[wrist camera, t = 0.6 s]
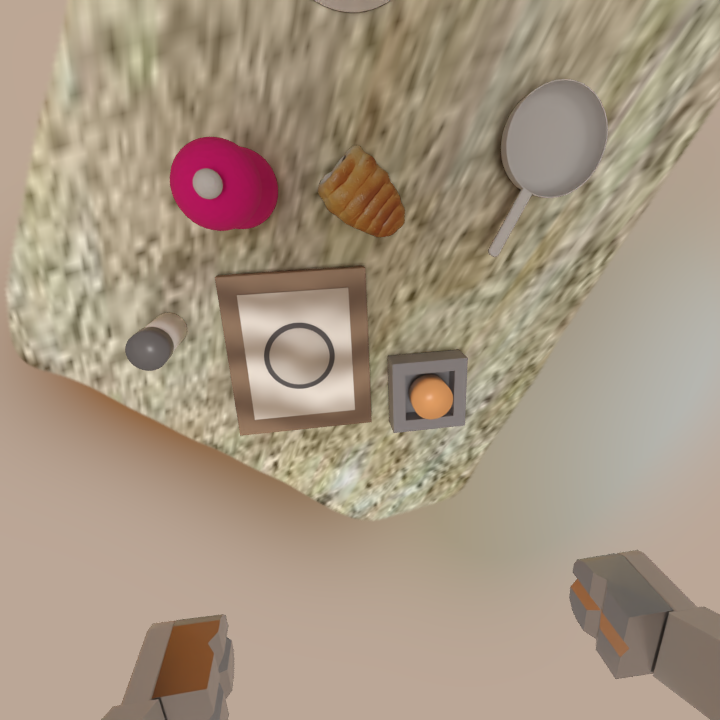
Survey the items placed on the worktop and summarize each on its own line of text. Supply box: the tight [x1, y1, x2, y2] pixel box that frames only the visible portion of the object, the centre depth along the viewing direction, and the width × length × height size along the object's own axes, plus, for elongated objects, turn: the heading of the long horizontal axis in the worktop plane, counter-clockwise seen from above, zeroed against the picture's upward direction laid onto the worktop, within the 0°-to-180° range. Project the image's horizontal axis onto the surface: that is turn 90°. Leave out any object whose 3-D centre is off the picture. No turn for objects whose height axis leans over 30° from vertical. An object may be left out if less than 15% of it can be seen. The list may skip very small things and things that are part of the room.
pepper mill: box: [170, 137, 278, 231], centre depth 36 cm, size 7×7×20 cm
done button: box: [408, 374, 453, 419], centre depth 52 cm, size 5×5×2 cm
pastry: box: [318, 145, 405, 237], centre depth 45 cm, size 9×7×4 cm
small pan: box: [488, 79, 608, 257], centre depth 46 cm, size 11×18×4 cm, turn 153°
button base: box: [388, 350, 468, 433], centre depth 54 cm, size 9×9×3 cm
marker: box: [125, 313, 187, 371], centre depth 45 cm, size 4×4×8 cm
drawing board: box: [215, 266, 372, 436], centre depth 51 cm, size 19×16×2 cm
